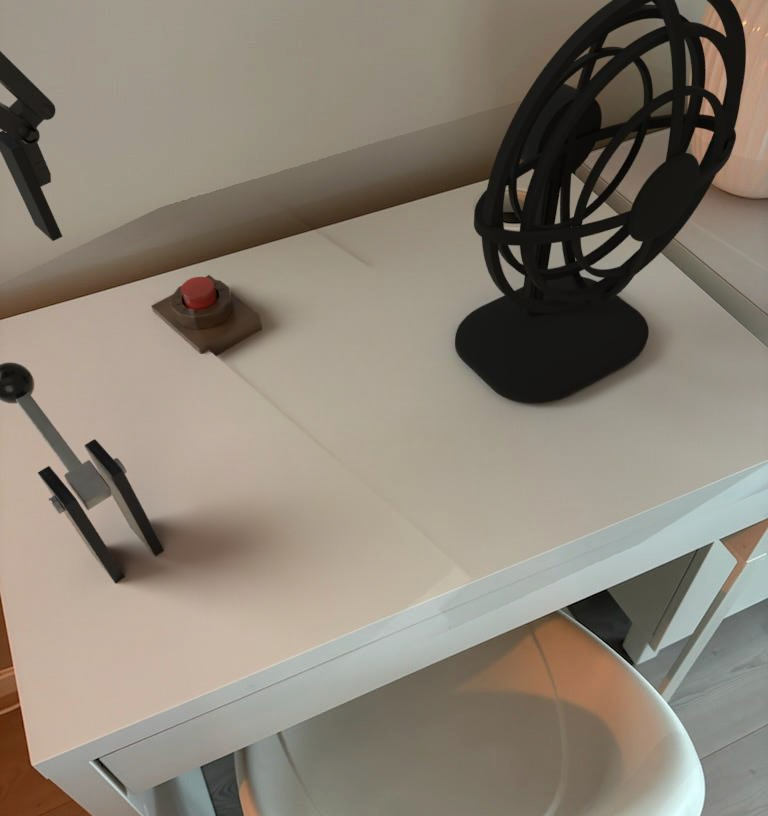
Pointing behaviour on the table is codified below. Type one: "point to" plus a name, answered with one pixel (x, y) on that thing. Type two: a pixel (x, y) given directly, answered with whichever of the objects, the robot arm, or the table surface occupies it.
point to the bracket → (124, 498)
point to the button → (199, 293)
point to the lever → (52, 435)
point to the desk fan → (553, 165)
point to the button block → (210, 320)
